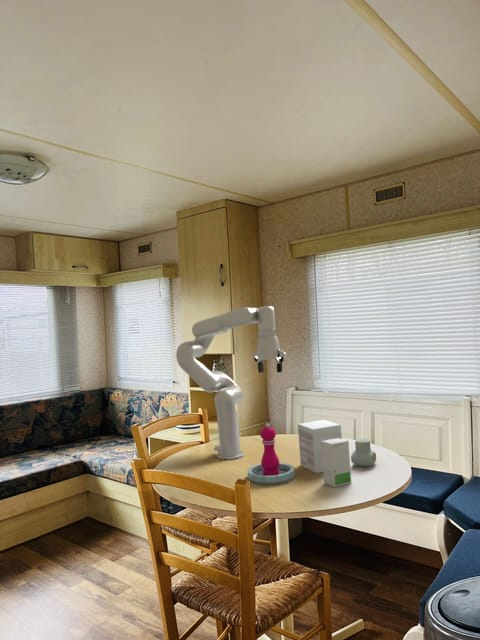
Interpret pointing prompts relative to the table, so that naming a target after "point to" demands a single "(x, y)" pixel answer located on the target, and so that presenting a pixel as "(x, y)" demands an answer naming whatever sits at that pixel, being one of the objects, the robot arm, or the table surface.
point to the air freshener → (363, 454)
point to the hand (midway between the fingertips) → (270, 372)
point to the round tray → (284, 475)
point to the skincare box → (336, 462)
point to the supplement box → (315, 442)
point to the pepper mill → (269, 452)
